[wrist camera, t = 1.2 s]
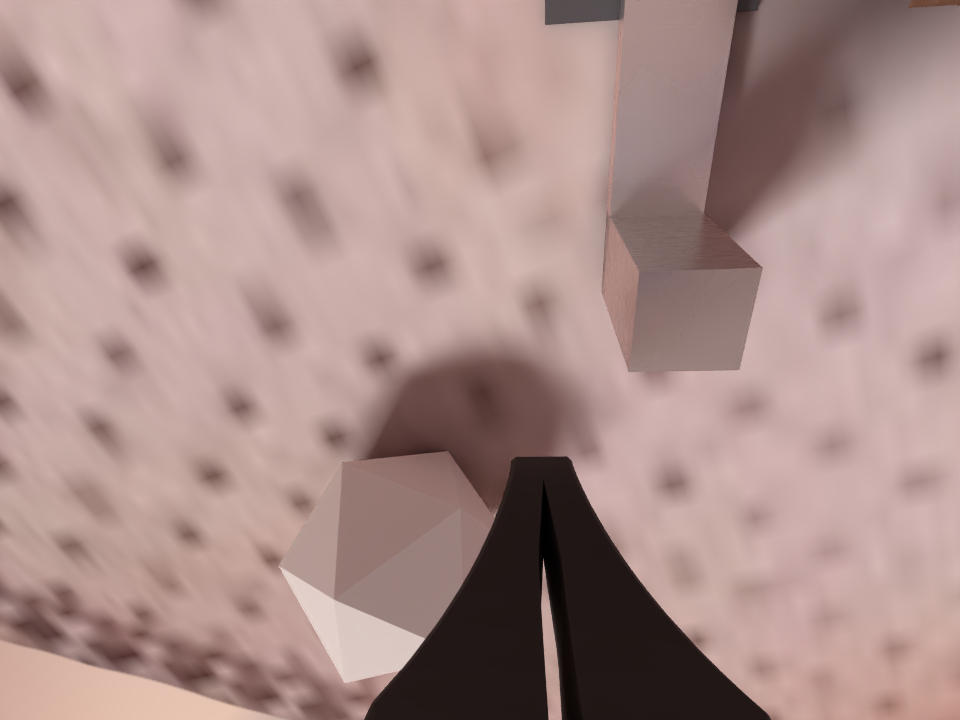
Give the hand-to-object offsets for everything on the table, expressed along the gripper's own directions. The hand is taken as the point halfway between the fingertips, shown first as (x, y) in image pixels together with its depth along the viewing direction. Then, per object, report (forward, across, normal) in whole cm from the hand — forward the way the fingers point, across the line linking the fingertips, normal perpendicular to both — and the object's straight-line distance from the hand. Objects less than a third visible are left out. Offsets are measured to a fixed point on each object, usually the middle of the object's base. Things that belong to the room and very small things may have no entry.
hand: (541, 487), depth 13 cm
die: (+10, +6, +9) cm, 15 cm away
